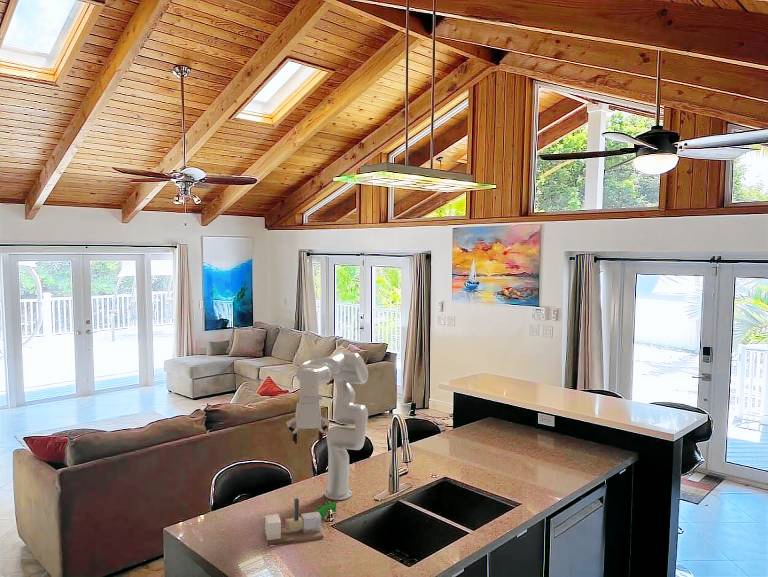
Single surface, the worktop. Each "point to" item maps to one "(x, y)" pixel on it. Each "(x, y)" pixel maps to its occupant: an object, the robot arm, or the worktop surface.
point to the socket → (272, 527)
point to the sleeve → (311, 522)
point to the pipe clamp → (326, 509)
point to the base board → (294, 536)
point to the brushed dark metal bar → (296, 521)
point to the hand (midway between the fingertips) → (307, 442)
